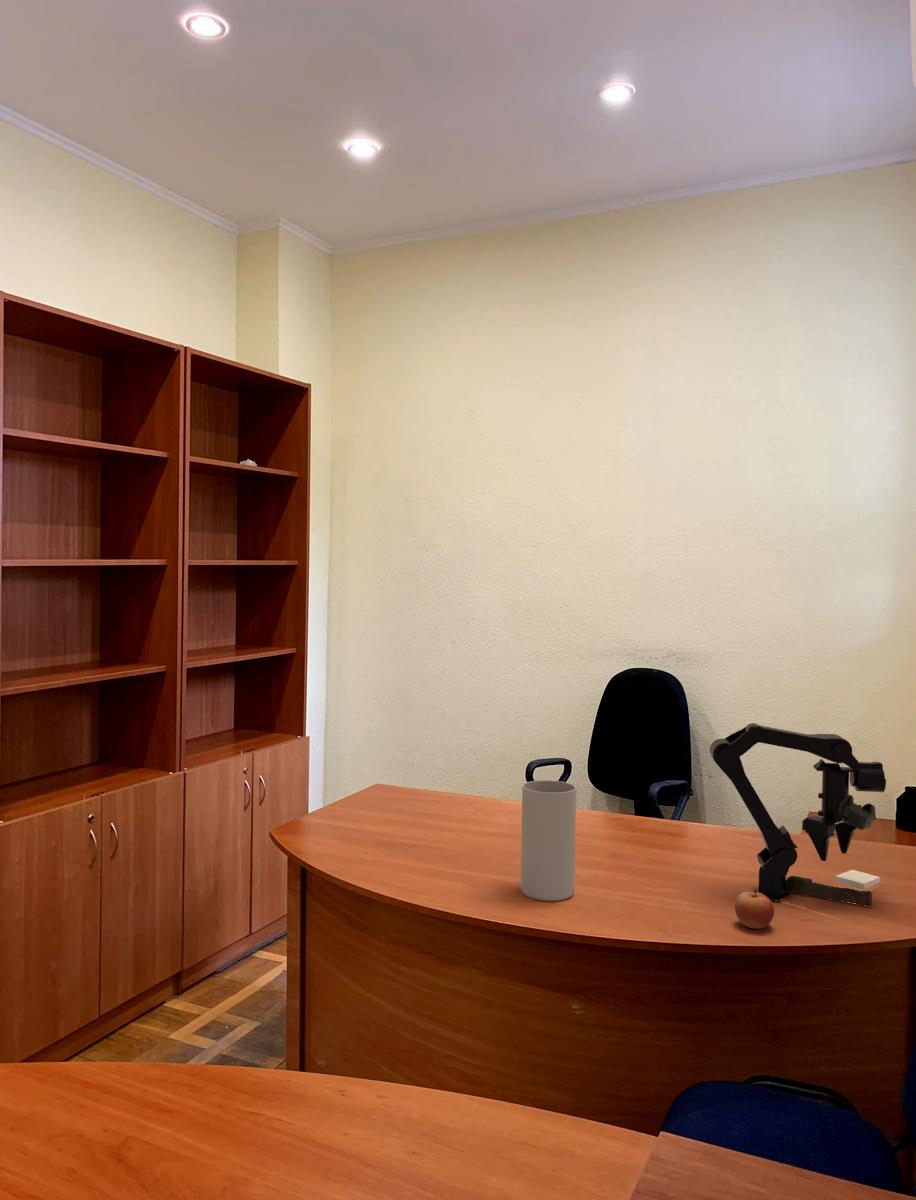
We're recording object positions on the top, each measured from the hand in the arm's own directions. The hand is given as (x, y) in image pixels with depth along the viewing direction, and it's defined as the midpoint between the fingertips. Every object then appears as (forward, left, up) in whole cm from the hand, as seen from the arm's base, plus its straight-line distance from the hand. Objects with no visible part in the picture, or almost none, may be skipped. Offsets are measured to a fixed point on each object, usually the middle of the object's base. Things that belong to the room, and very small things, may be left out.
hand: (833, 857), depth 210 cm
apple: (-29, +2, -10) cm, 31 cm away
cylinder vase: (-50, +43, -10) cm, 67 cm away
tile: (+10, +1, -8) cm, 13 cm away
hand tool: (-2, 0, -11) cm, 11 cm away
